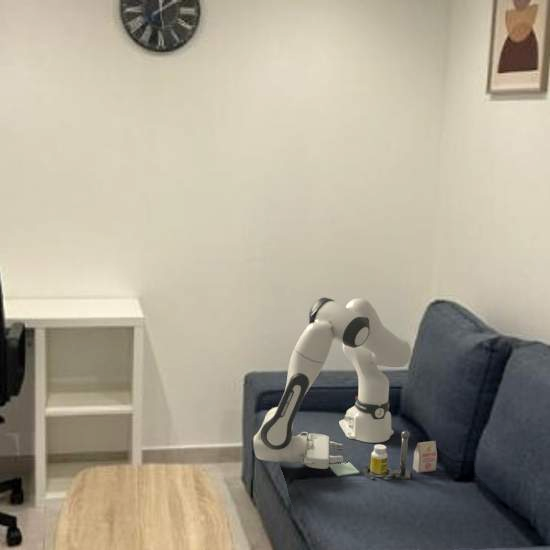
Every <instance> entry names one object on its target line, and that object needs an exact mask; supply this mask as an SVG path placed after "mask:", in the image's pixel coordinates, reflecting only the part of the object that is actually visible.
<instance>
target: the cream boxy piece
mask: <svg viewBox="0 0 550 550" xmlns="http://www.w3.org/2000/svg"><path fill="white" fill-rule="evenodd" d="M437 451H438V450H437V444H436V440H434V441H433V440H430V441H423V442H417V444H416V447H415V449H414V451H413V464H412V469H413V470H414V471H415V472H417V473H418V474H421V473H429V472H436V471H437V470H436V469H437V459H438V452H437Z"/></svg>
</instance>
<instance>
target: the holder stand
mask: <svg viewBox="0 0 550 550" xmlns="http://www.w3.org/2000/svg"><path fill="white" fill-rule="evenodd" d="M400 435H401V436H400V437H401V446H400V447H401V448H400V457H399V458H400V459H399V460H400V461H399V469H394V470H393V469H392V468H391V467H389V466H387V470H386V473H387V474H386V475H385V476H383V477H382V479H383V478H391V479H397V478H404V479H403V480H411V472H410V470H407V457H408V444H409V438H410V432H409V431H408V430H403V431H402V432H401V433H400ZM370 466H371V464H369V465H366V466H363V467H362V474H363V477H365V476H367V477H375V478H376V476H374V475H372V474H370V472H369V471H370ZM368 470H369V471H368ZM367 477H366V478H367Z"/></svg>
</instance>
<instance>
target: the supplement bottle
mask: <svg viewBox="0 0 550 550" xmlns="http://www.w3.org/2000/svg"><path fill="white" fill-rule="evenodd" d="M388 457H389V455H388V453H387V446H386V445H384V444H380V443H379V444H375V445H374V446H373V451H372V452H371V455H370V465H371V466H370V470H369V473H370V474H372V475H374V476H375V478H383V476H385V475H387V472H386V470H387V467H388V459H389V458H388Z"/></svg>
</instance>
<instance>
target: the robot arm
mask: <svg viewBox="0 0 550 550" xmlns="http://www.w3.org/2000/svg"><path fill="white" fill-rule="evenodd" d="M308 317H309V319H308V321H309V322H308V323H309V324H308V325H307V326H306V328H305V329H304V330H303V332H302V333H301V335H300V336H299V339H298V340H297V342H296V344H295V346H294V347H293V350H292V353H291V356H290V359H289V363H288V368H287V378H286V384H285V389H284V392H283V395H282V396H281V399H280V401H279V403H278V406H275V407H272V408H270V409H269V410H268V411H267V413H266V415H265V417H264V419H263V422H262V424H261V427H260V428H259V430H258V432H257V433H256V434H255V435H254V436H253V438H252V449H253V454H254V456H255V458H257V459H259V460H261V461H265V462H276V463H280V462H281V463H282V462H287V463H291V464H300V465H301V464H302V465H303V464H304V465H306V467H309V468H313V469H320V470H325V469H329V465H330V464H337V463H344V456H343V455H341V454H338V455H330V450H332V449H333V450H337V451H343V449H344V445H343V443H338V442H335V441H330V436H328V435H326V434H321V433H320V434H319V433H309V432H307V431H301V433H299V434H298V435H296V436H295V435H293V432H292V431H293V426H294V420H295V419H296V417H297V414H298V412H299V409H300V407H301V405H302V402H303V399H304V398H305V395H306V394H307V392H308V391H309V389H311V386H313V383H314V382H315V381H316V378H317V377H318V376H319V374H320V373H321V371H322V369H323V367H324V365H325V363H326V361H327V359H328V357H329V354H330V351H331V348H332V344H333V341H334V340H336V341H337V342H339V343H342V352H343V353H344V355H345V356H346V357H347V359H349V361H350V362H351V363H352V365H353V367H354V368H355V369H354V370H356V374H357V378H358V379H357V381H358V382H357V383H358V395H356V396H355V404H354V406H352V407H350V408H348V409H347V410H346V413H345V415H344V418H343V419H341V420H339V426H340V428H341V429H342V431H343V433H344V435H345V436H346V438H347V437H348V438H347V439H349V440H350V439H351V440H357V441H360V442H364V443H371V444H372V443H384V442H386V441H388V440H390V438H391V436H392V435H394V433H395V432H394V430H393V429H392V414H391V412H390V411H389V409H390V400H389V393H390V392H389V391H390V381H389V379H388V377H387V376H386V375H385V374H384V372H382V371H381V369H379V367H378V366H381V367H387V368H404V367H406V366H407V364H408V363H409V362H410V360H411V357H412V348H411V345H410V344H409V342H408V341H406V340H404V339H403V338H401V337H398V336H397V335H395V334H394V333H392V332H391V331H390V330H389V329H388V328H387V327H385V326H384V325H383V323H382V321H381V319H380V317H379V315H378V313H377V311H376V310H375V308H374V307H373V305H372V304H371V303H370V302H369V301H368V300H367V299H364V298H360V297H359V298H353V299H351V300H349V302H348V303H347V304H346V305H342V304H341V303H338V302H336V301H335V300H334V299H331V298H328V297H320V298H319V299H316V301H314V303H313V304H312V306H311V308H310V309H309V315H308Z"/></svg>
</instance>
